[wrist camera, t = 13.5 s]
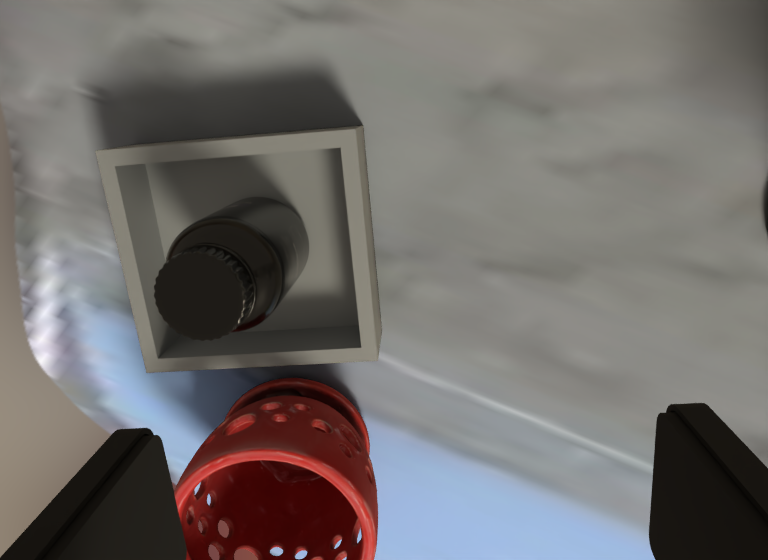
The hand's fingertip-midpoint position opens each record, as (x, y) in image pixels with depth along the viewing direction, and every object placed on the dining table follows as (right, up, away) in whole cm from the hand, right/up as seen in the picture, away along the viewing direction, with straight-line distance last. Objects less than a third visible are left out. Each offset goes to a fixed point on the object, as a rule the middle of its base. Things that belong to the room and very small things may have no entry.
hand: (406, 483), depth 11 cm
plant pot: (-7, -9, +35) cm, 37 cm away
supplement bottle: (-9, +6, +29) cm, 31 cm away
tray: (-9, +7, +30) cm, 32 cm away
